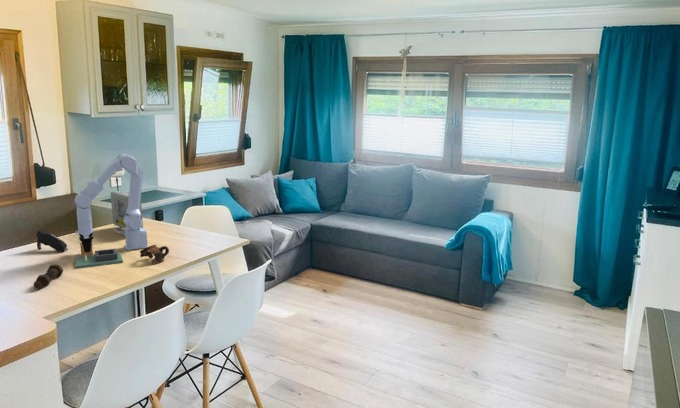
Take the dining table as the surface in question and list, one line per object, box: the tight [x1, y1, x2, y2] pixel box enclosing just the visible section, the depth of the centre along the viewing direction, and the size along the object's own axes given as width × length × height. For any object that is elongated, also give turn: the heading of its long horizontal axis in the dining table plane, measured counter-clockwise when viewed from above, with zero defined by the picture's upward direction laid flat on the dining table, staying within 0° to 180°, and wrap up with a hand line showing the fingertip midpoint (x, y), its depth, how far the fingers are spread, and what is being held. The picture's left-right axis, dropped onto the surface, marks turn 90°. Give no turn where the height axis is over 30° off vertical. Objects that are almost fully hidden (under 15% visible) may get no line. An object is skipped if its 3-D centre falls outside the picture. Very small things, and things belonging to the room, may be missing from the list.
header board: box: [75, 248, 124, 269], centre depth 219 cm, size 18×13×4 cm
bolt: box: [32, 263, 64, 290], centre depth 193 cm, size 6×5×15 cm
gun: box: [36, 229, 69, 253], centre depth 233 cm, size 3×16×10 cm, turn 78°
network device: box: [110, 190, 144, 236], centre depth 265 cm, size 26×9×20 cm, turn 49°
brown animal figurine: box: [139, 244, 170, 265], centre depth 221 cm, size 12×10×8 cm
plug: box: [79, 242, 94, 256], centre depth 227 cm, size 5×4×6 cm
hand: (87, 250), depth 228 cm, fingers open, 5 cm apart
